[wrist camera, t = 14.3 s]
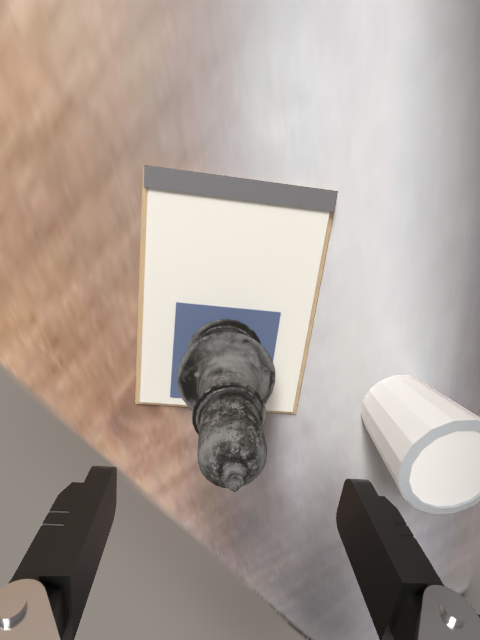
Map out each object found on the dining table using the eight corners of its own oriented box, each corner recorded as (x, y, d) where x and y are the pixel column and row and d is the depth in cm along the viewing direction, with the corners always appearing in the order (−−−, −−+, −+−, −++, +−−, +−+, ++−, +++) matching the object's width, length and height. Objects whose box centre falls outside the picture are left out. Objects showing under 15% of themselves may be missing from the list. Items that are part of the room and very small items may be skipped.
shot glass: (420, 448, 28) (483, 521, 21) (342, 437, 27) (383, 510, 21) (450, 374, 26) (531, 429, 19) (368, 360, 25) (423, 412, 19)
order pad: (143, 166, 20) (140, 164, 19) (336, 192, 22) (341, 191, 21) (136, 401, 25) (133, 407, 24) (294, 411, 26) (297, 418, 25)
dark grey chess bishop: (283, 358, 24) (347, 492, 12) (220, 407, 25) (225, 575, 13) (230, 296, 22) (246, 386, 11) (163, 351, 23) (114, 488, 12)
